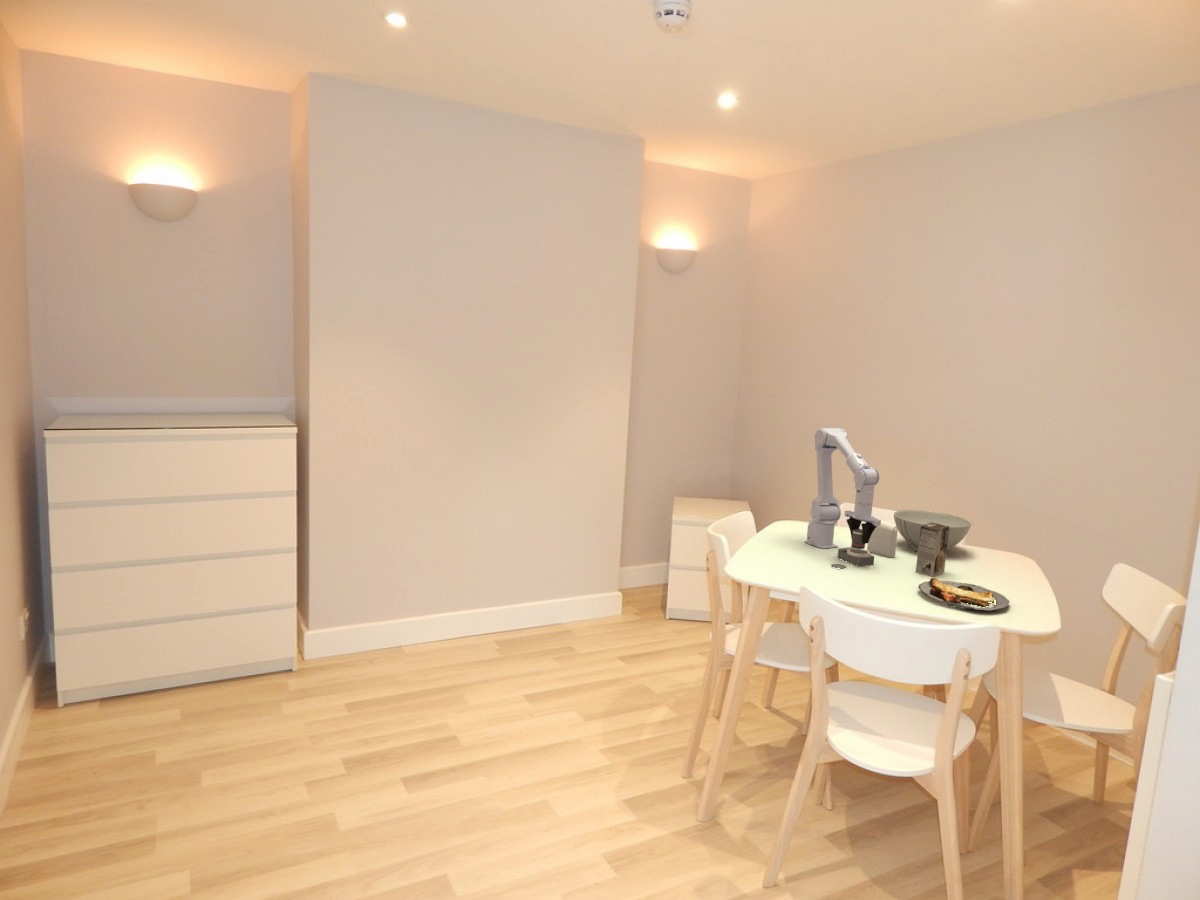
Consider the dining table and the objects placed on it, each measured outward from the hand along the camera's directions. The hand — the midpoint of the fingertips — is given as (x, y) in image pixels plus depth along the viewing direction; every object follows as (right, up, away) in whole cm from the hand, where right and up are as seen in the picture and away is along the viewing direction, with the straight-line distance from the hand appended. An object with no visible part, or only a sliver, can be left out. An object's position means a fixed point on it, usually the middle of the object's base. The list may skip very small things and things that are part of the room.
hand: (859, 541), depth 268 cm
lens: (-1, -2, 0) cm, 2 cm away
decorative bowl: (+34, -6, +24) cm, 42 cm away
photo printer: (+12, -6, +14) cm, 19 cm away
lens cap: (-9, -9, -6) cm, 14 cm away
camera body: (-1, -7, +2) cm, 8 cm away
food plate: (+20, -14, -32) cm, 41 cm away
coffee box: (+22, -10, -6) cm, 25 cm away
